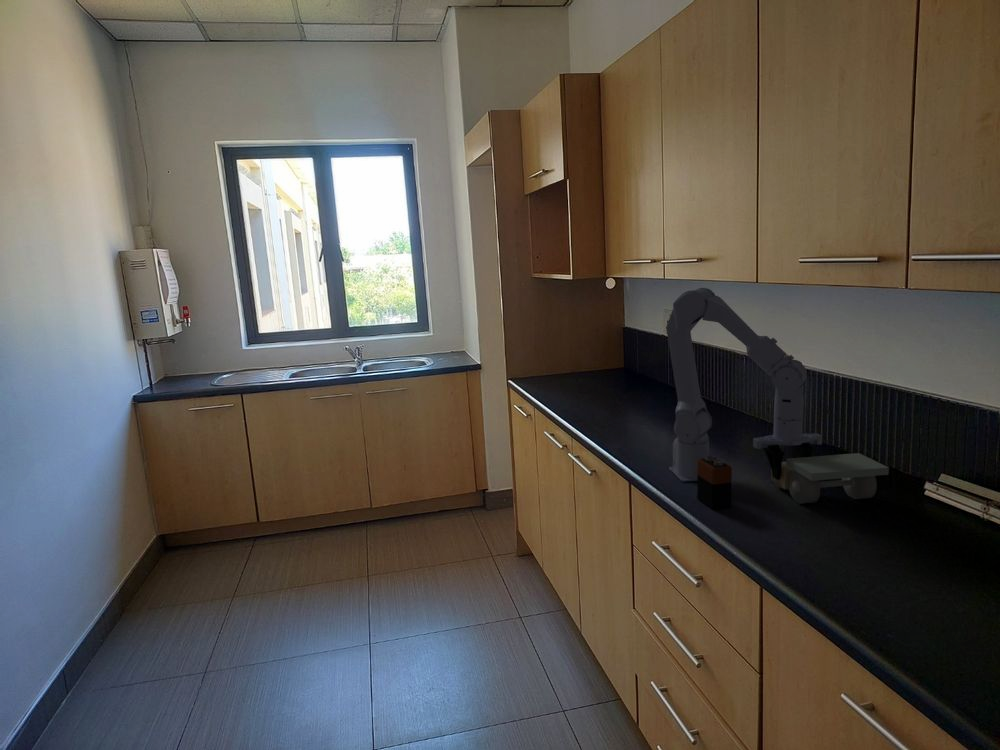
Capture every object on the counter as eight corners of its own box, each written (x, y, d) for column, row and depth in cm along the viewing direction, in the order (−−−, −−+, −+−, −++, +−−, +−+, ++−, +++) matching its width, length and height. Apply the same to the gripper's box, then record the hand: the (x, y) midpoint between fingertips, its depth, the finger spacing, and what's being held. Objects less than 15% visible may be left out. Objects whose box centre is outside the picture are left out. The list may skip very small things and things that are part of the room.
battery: (713, 510, 132) (713, 464, 130) (696, 499, 138) (696, 454, 136) (732, 508, 133) (732, 462, 131) (714, 496, 139) (715, 452, 137)
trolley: (785, 496, 137) (786, 458, 136) (856, 490, 138) (858, 453, 137) (809, 514, 128) (811, 473, 126) (886, 507, 129) (888, 467, 127)
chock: (770, 479, 143) (771, 462, 142) (788, 478, 143) (788, 461, 143) (784, 489, 137) (785, 471, 136) (802, 488, 138) (803, 470, 137)
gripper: (764, 424, 133) (763, 486, 136) (831, 419, 134) (828, 481, 137) (749, 416, 140) (747, 475, 143) (812, 411, 141) (810, 470, 144)
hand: (786, 477), depth 140 cm, fingers closed on chock, 4 cm apart
